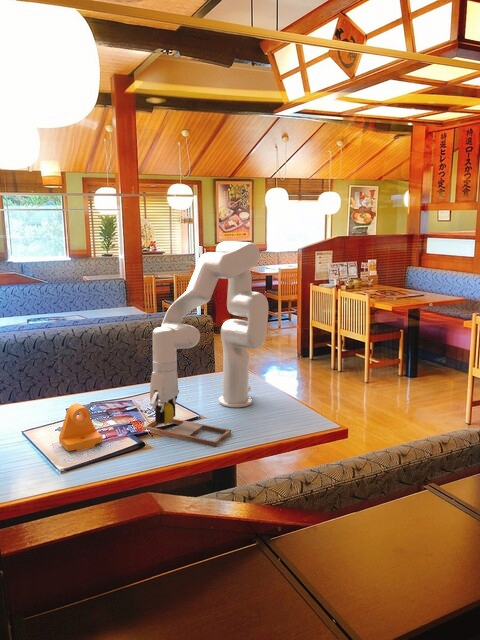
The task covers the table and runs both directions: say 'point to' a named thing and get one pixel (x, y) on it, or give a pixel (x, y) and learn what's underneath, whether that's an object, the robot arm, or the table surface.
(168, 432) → the wooden frame
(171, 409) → the lemon
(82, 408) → the bracket
